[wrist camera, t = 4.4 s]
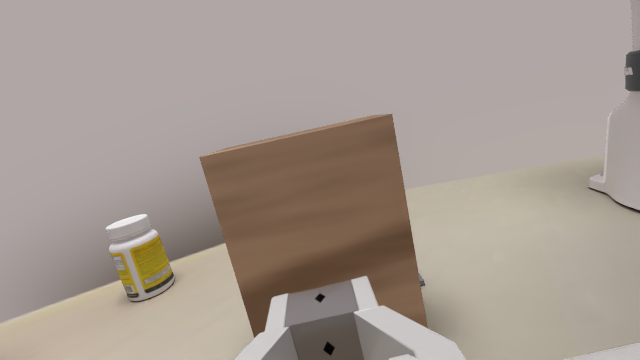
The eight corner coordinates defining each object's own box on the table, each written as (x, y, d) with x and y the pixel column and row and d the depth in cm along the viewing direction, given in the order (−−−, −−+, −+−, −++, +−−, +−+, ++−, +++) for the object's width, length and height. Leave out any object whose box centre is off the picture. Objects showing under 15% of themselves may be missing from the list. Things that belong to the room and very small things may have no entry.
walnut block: (430, 347, 18) (392, 114, 15) (268, 382, 18) (199, 157, 15) (404, 298, 23) (371, 115, 20) (276, 326, 23) (226, 148, 20)
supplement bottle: (180, 273, 36) (158, 209, 34) (167, 294, 32) (140, 221, 30) (140, 284, 36) (115, 219, 34) (120, 307, 31) (90, 234, 29)
